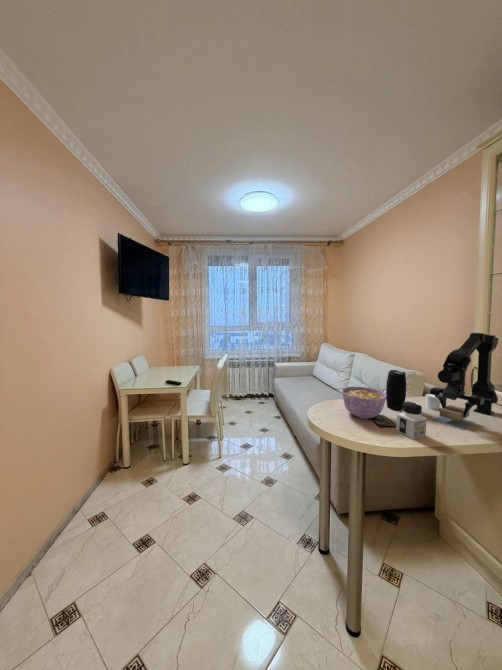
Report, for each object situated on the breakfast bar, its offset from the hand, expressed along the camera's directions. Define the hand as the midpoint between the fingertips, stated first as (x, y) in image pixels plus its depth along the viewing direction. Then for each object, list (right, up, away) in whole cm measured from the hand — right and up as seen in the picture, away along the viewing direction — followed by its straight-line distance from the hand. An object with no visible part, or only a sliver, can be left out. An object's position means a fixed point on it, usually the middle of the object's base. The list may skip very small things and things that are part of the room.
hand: (454, 413), depth 116 cm
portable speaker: (-17, -3, +18) cm, 25 cm away
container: (-27, -5, -11) cm, 30 cm away
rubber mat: (0, -4, 0) cm, 4 cm away
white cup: (+2, -3, +17) cm, 18 cm away
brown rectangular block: (0, -1, 0) cm, 1 cm away
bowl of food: (-39, -3, +8) cm, 40 cm away
